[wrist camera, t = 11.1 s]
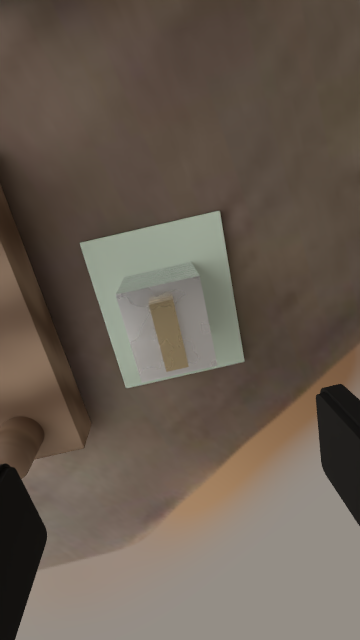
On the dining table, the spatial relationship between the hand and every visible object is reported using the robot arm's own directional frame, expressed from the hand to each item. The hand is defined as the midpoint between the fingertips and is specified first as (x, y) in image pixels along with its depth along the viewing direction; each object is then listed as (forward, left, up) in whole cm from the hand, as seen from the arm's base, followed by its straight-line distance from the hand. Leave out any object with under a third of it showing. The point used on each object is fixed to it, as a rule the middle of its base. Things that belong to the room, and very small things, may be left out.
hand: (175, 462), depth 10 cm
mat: (0, 0, -16) cm, 16 cm away
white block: (0, 0, -15) cm, 15 cm away
